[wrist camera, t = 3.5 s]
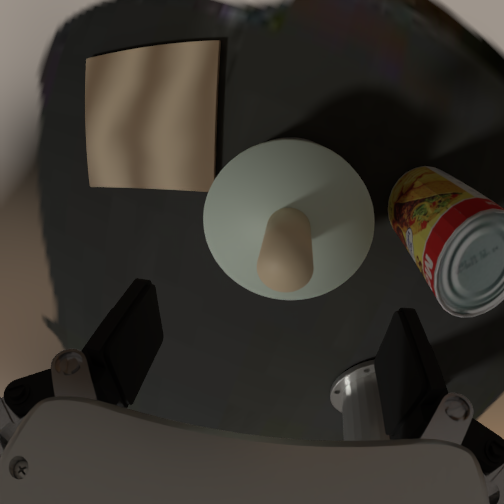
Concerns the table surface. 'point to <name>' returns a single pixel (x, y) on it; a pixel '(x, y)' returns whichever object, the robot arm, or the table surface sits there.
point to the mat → (153, 116)
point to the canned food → (451, 238)
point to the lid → (289, 219)
